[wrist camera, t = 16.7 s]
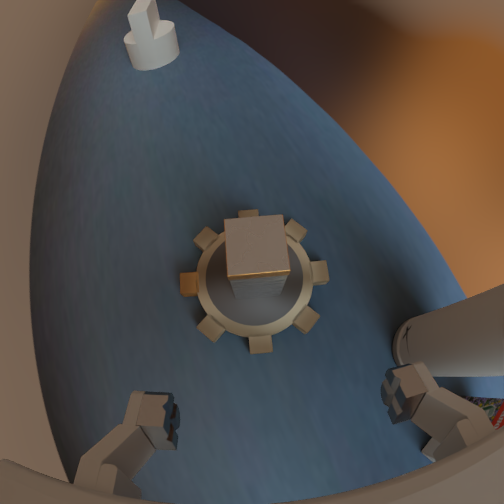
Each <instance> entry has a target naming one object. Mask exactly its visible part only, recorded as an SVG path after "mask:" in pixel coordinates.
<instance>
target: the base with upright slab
mask: <svg viewBox="0 0 504 504" xmlns="http://www.w3.org/2000/svg"><path fill="white" fill-rule="evenodd" d="M127 16H128V19H129V23H130V26H131V29H132V30H131V31H130V32H129V33H128V34H127V35H126V36H125V37H124V43H125V46H126V49H127V52H128V55H129V57H130V60H131V63H132V66H133V68H135V69H137V70H152V69H156V68H159V67H162V66H164V65H166V64H168V63H170V62H172V61H173V60H174V59H176V57H177V56H178V55H179V46H178V41H177V37H176V32H175V27H174V23H173V22H171V21H166V20H161V21H160V18H159V14H158V9H157V5H156V0H136V2H135V4H134V5H133V7H132V9H131V10H130V12H129V13H128V15H127Z"/></svg>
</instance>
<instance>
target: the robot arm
mask: <svg viewBox="0 0 504 504" xmlns="http://www.w3.org/2000/svg"><path fill="white" fill-rule="evenodd" d="M385 376H386V379H385V380H384V381H383V382H382V385H381V398H382V401H383V403H384V404H385V405H386V406H388V407H389V409H388V412H387V413H388V415H389V417H390V419H391V422H392V424H397V423H400V422H404V421H407V420H411V421H412V422H413V423H415V424H416V425H417V426H418V427H420V428H421V429H422V430H424V431H425V432H426V433H428V434H429V435H430V436H431V437H433V438H434V439H435V440H437V441H438V442H439V443H441V444H440V445H439V446H438V447H437V448H436V450H435V451H434V453H433V456H434V458H435V461H436V462H434V463H432V464H429V465H427V466H424V467H422V468H419V469H417V470H414V471H412V472H409V473H406V474H403V475H401V476H398V477H395V478H392V479H389V480H386V481H383V482H379V483H376V484H373V485H369V486H365V487H362V488H358V489H354V490H350V491H346V492H341V493H337V494H332V495H327V496H322V497H317V498H311V499H305V500H298V501H290V502H282V503H272V504H504V426H502V427H501V428H499V429H497V430H495V428H494V427H493V425H492V423H491V421H490V420H489V418H488V416H487V415H486V413H485V411H484V410H483V409H482V408H480V407H478V406H477V405H475V404H473V403H471V402H469V401H467V400H465V399H463V398H462V397H460V396H458V395H456V394H454V393H452V392H450V391H449V390H447V389H445V388H443V387H441V388H439V386H438V385H437V383H436V381H435V380H434V378H433V377H432V375H431V373H430V372H429V370H428V369H427V367H426V365H425V364H424V362H422V361H417V362H413V363H410V364H409V363H408V364H405V365H401V366H397V367H393V368H390V369H388V370H387V371H386V374H385ZM179 426H180V412H179V408H178V406H177V404H175V403H174V396H173V394H172V393H166V392H148V391H133V392H132V393H131V396H130V399H129V403H128V406H127V410H126V413H125V417H124V421H123V424H118V425H117V426H116V427H115V428H114V429H113V430H112V431H111V432H109V433H108V434H107V435H106V436H105V437H104V438H103V439H101V440H100V441H99V442H98V443H97V444H96V445H95V446H93V447H92V448H91V449H90V450H89V451H88V452H86V453H85V454H84V455H83V456H82V457H81V459H80V462H79V466H78V469H77V473H76V476H75V480H74V483H73V484H71V483H68V482H65V481H61V480H58V479H55V478H53V477H50V476H47V475H44V474H42V473H39V472H36V471H34V470H31V469H29V468H26V467H24V466H22V465H20V464H17V463H15V462H13V461H10V460H7V459H3V460H0V504H173V503H163V502H155V501H147V500H141V492H142V491H141V490H140V488H139V487H138V486H136V485H135V484H134V483H133V482H132V481H131V480H132V479H133V477H134V476H135V475H136V474H137V473H138V471H139V470H140V469H141V468H142V467H143V465H144V464H145V463H146V462H147V461H148V459H149V458H150V457H151V456H152V455H153V453H154V452H155V451H156V450H155V449H158V450H177V443H178V435H177V433H176V430H177V429H178V428H179Z"/></svg>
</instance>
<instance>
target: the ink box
mask: <svg viewBox="0 0 504 504" xmlns="http://www.w3.org/2000/svg"><path fill="white" fill-rule="evenodd" d="M460 397H462V398H463V399H465V400H467V401H469V402H471V403H473V404H475V405H477V406H478V407H480V408H482V409H483V410H484V411H485V413H486V415H487V416H488V418H489V420H490V421H491V423H492V425H493V427H494V428H495V430H497V429H499V428H501V427H502V426H504V399H497V398H481V397H469V396H460ZM440 444H441V443H439V442H438V441H437V440H435V439H434V438H433V437H432V438H431V439H430V441H429V442H428V443H427V445H426V446H425V447H424V448H423V450H422V451H421V452H422V453H423V454H424V455H425V456H426V457H427V458H429V459H430V460H431V461H432V462H436V461H435V458H434V456H433V453H434V451H435V450H436V448H437V447H438V446H439V445H440Z"/></svg>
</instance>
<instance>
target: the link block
mask: <svg viewBox="0 0 504 504" xmlns="http://www.w3.org/2000/svg"><path fill="white" fill-rule="evenodd" d="M224 230H225V247H226V262H227V277H228V280H230V283H231V286H232V289H233V292H234V295H235V298H236V299H241V298H252V297H263V296H274V295H280V294H281V291H282V289H283V286H284V284H285V281H286V279H287V276H288V275H289V274H290V271H291V270H290V263H289V255H288V248H287V241H286V234H285V227H284V220H283V214H282V215H269V216H256V217H245V218H233V219H224Z"/></svg>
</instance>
